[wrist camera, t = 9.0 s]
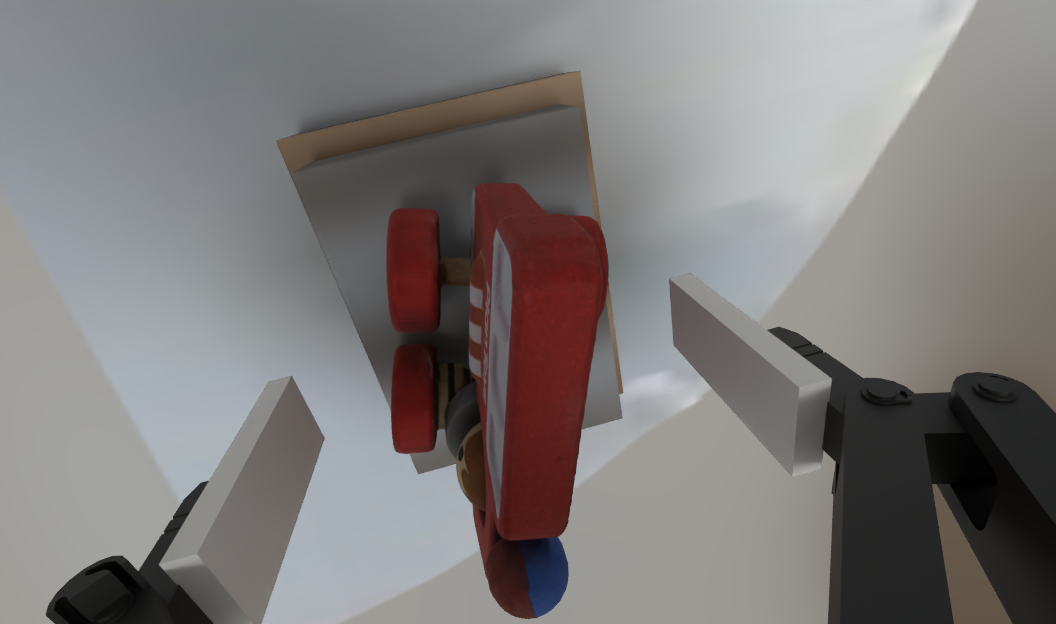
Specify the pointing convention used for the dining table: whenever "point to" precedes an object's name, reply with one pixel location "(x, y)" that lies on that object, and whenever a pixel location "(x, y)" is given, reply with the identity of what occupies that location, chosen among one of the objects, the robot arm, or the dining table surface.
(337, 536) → the dining table surface
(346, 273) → the wooden tray
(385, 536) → the dining table surface
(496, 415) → the toy fire truck
